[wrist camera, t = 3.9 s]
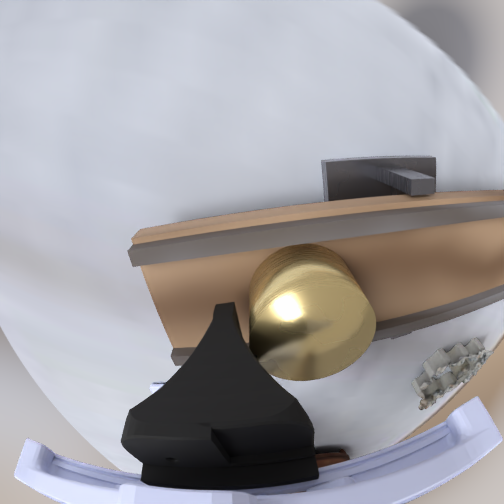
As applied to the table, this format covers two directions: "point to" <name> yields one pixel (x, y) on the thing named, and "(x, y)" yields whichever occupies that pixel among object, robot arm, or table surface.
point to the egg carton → (460, 363)
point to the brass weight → (307, 314)
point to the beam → (341, 242)
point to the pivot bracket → (378, 178)
